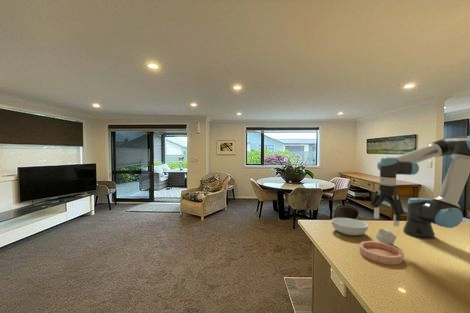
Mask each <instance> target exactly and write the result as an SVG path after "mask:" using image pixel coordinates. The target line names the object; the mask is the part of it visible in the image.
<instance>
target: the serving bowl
mask: <svg viewBox="0 0 470 313" xmlns="http://www.w3.org/2000/svg"><path fill="white" fill-rule="evenodd" d="M331 225H332V228H333V229H334V230H336V232H338V233H341V234H344V235H347V236H361V235H363V234H365V233H366V232H367V231H368V228H369V224H368V223H367V222H365V221H363V220H359V219H355V218H349V217H335V218H332V219H331Z"/></svg>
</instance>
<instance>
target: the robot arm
mask: <svg viewBox="0 0 470 313" xmlns="http://www.w3.org/2000/svg"><path fill="white" fill-rule="evenodd" d="M446 156H447V157H448V156H449V157H450V158H451V161H450V165H449V167H448V169H447V172H446V174H445V177H444V179H443V181H442V185H441V188H440V190H439V192H438V194H437V196H436V197H434V198H423V197H422V198H421V197H410V198H408V200H407V210H406V211H407V215H406V214H405V210H404V208H403V205H402V202H401V198H400V197H401V196H400V195H395V193H396V191H397V190H396V189H397V188H396V187H397V186H396V185H397V175H403V176H405V175H407V176H412V175H414V176H415V175H417V174H418V173H419V172H420V166H419V163H421V162H423V161H426V160H429V159H432V158H439V157H440V158H441V157H446ZM376 166H377V169H378V170H379V189H378V190H375V194H374V197H373V199H372V200H371V203H370V205H371V206H373V219H380V206H381V205H382V203H384V201H385V202H387V203H388V204H389V205H390V207H391V208H392V210H393V212H394V213H393V225H392V226H393V227H400V221H401V216H402V215H406V216H407V217H406V218H407V219H406V222H405V225H404V226H403V233H404V234H406V235H408V236H412V237H414V238H420V239H425V240H426V239H427V240H432V239H435V238H436V236H435V232H434V228H433V226H432V224H434V225H436V226H439V227H442V228H446V229H447V228H448V229H451V228H452V229H453V228H454V227H455V228H456V227H458V226H459V225H460V224H461V223H462V221H463V219H464V215H463V212H462V211H461V206H460V204H459V200H460V198H461V196H462V193H463V190H464V189H465V185H466V183H467V181H468V178H469V175H470V135H460V136H459V135H458V136H449V137H445V138H442V139H439V140H436V141H432V142H429V143H428V144H427V145H426V146H424V147H421V148H418V149H415V150H413V151H409V152H407V153H404V154H401V155H398V156H395V157H386V156H385V157H384V156H383V157H381V158H380V160H379V161H378V162H377V165H376Z"/></svg>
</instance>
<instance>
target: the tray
mask: <svg viewBox="0 0 470 313" xmlns="http://www.w3.org/2000/svg"><path fill="white" fill-rule="evenodd" d="M358 250H359V254H360V255H362V256H363V257H364V258H366V259H368V260H370V261H373V262H375V263H378V264H382V265H383V264H384V265H389V266H390V265H391V266H396V265H401V264H403V260H404V259H405V258H404V257H405V256H404V253H403V251H402V250H401V249H399V248H397V247H396V246H394V245H388V244H385V243H381V242H380V241H373V240H367V241H366V240H364V241H363V240H362V241H361V242H360V243H358Z"/></svg>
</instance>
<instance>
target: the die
mask: <svg viewBox="0 0 470 313" xmlns="http://www.w3.org/2000/svg"><path fill="white" fill-rule="evenodd" d="M375 238H376V239H377V240H378V242H381V243H385V244H388V245H392V246H394V243H395V241H396V239H397V236H396V235H395V234H394V233H393V232H392V231H391V229H390V228H389V229H387V228H379V230H378V231H377V234H376V235H375Z"/></svg>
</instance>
